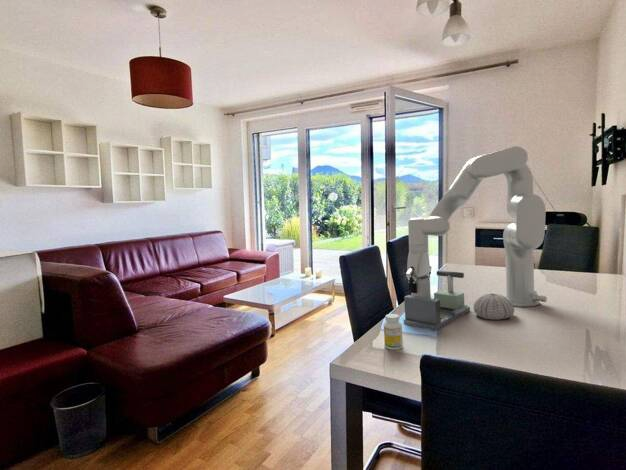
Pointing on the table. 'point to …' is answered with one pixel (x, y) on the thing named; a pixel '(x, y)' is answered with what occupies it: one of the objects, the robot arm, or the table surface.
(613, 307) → the table surface
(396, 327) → the supplement bottle
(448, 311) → the base
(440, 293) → the grey-green handled block
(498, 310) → the sea urchin shell
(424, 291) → the can
